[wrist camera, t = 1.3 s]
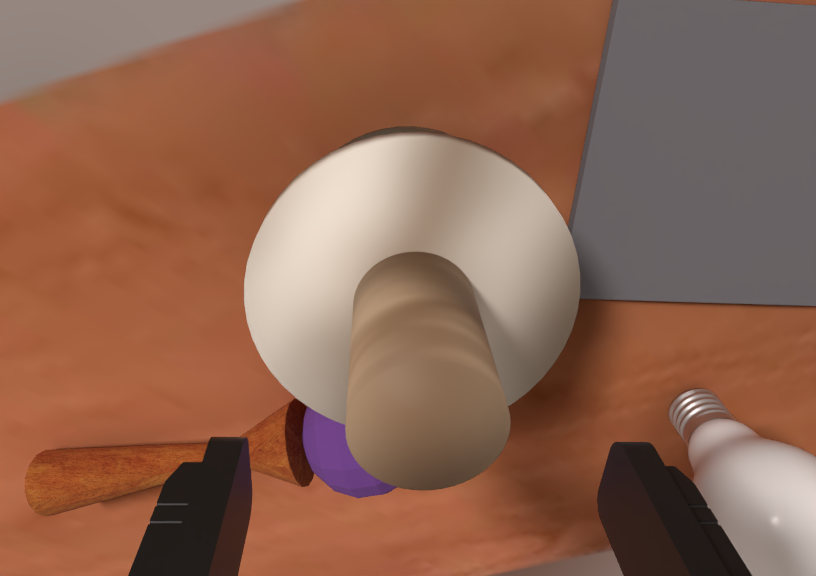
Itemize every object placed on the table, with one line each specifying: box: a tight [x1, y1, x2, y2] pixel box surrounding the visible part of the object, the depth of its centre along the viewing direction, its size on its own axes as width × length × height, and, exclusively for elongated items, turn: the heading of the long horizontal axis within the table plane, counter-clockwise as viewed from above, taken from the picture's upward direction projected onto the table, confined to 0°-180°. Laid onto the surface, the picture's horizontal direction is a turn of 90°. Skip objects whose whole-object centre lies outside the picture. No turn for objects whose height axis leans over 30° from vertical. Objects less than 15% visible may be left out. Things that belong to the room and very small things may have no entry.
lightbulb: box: [668, 389, 816, 576], centre depth 28 cm, size 6×6×11 cm
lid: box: [244, 132, 580, 490], centre depth 18 cm, size 11×11×7 cm
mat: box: [568, 0, 816, 306], centre depth 26 cm, size 13×13×1 cm
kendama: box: [25, 399, 397, 516], centre depth 30 cm, size 6×6×20 cm
